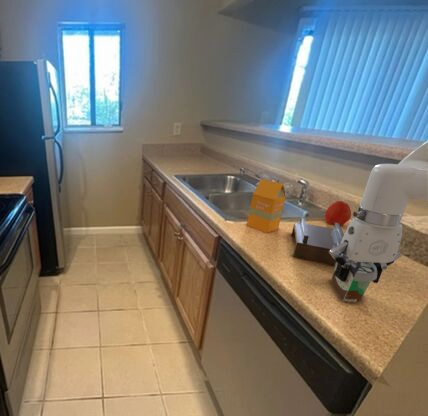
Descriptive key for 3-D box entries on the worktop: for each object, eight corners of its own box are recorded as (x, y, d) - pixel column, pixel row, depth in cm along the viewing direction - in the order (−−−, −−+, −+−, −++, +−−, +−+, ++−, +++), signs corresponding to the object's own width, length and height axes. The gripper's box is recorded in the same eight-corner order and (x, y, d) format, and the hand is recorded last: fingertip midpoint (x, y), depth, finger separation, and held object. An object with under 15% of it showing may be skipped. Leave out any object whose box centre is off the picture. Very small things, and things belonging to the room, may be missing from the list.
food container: (375, 313, 67) (390, 279, 63) (344, 307, 69) (357, 273, 66) (355, 284, 78) (366, 253, 74) (328, 279, 80) (338, 249, 76)
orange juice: (257, 222, 118) (267, 177, 111) (278, 230, 111) (289, 182, 104) (246, 226, 115) (255, 180, 108) (266, 234, 108) (277, 185, 100)
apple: (352, 228, 111) (361, 203, 108) (331, 228, 112) (339, 204, 108) (336, 220, 119) (344, 197, 115) (317, 220, 119) (324, 197, 116)
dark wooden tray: (336, 244, 99) (343, 223, 96) (346, 270, 84) (355, 246, 81) (290, 235, 106) (296, 215, 103) (292, 258, 91) (298, 235, 88)
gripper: (349, 222, 63) (328, 286, 69) (435, 223, 61) (405, 289, 67) (328, 210, 70) (310, 269, 76) (404, 211, 68) (379, 272, 74)
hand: (355, 278), depth 72 cm, fingers closed on food container, 6 cm apart
